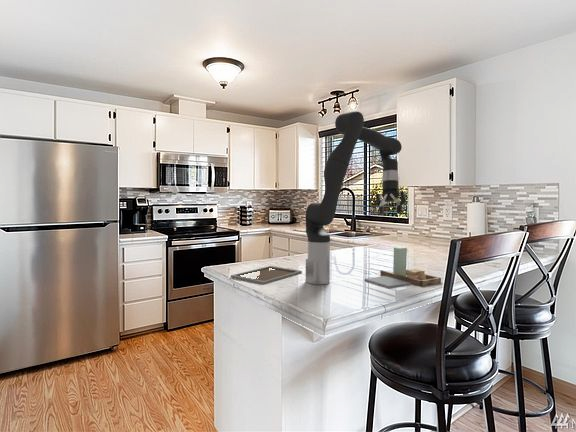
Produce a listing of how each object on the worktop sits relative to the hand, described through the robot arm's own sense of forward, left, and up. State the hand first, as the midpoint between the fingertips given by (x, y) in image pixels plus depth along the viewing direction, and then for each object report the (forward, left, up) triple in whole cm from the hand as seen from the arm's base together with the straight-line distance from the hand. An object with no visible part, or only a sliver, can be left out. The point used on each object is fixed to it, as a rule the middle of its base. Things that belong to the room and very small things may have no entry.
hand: (390, 214), depth 170 cm
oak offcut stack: (-4, -19, -28) cm, 34 cm away
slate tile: (-18, -16, -28) cm, 36 cm away
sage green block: (-4, -10, -28) cm, 30 cm away
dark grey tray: (-55, +20, -28) cm, 65 cm away
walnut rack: (-4, -16, -28) cm, 32 cm away
